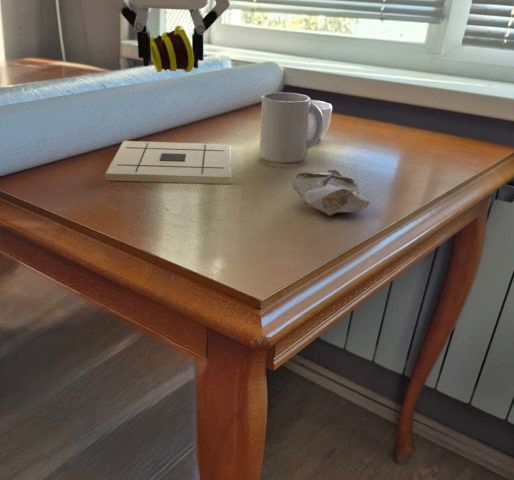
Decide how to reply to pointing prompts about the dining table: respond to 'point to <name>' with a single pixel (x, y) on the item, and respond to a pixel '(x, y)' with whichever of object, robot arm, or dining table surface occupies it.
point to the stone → (329, 192)
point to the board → (171, 163)
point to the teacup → (326, 115)
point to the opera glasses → (172, 51)
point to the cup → (288, 126)
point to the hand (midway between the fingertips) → (171, 64)
